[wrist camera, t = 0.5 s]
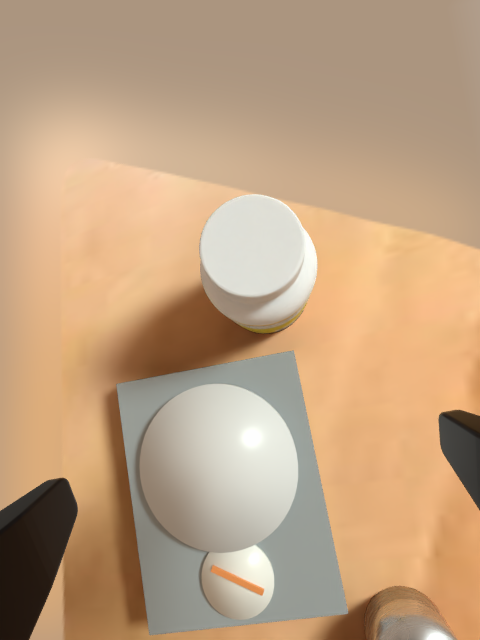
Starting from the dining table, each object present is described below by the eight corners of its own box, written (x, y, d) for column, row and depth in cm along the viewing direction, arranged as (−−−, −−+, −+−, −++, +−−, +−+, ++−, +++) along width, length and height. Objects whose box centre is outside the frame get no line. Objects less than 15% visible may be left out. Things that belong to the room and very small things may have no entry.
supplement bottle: (229, 251, 22) (191, 170, 13) (310, 257, 22) (334, 176, 12) (220, 330, 22) (171, 309, 12) (302, 339, 21) (321, 324, 11)
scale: (341, 587, 19) (350, 622, 17) (162, 608, 20) (145, 644, 18) (292, 351, 21) (294, 350, 18) (130, 381, 22) (111, 384, 20)
